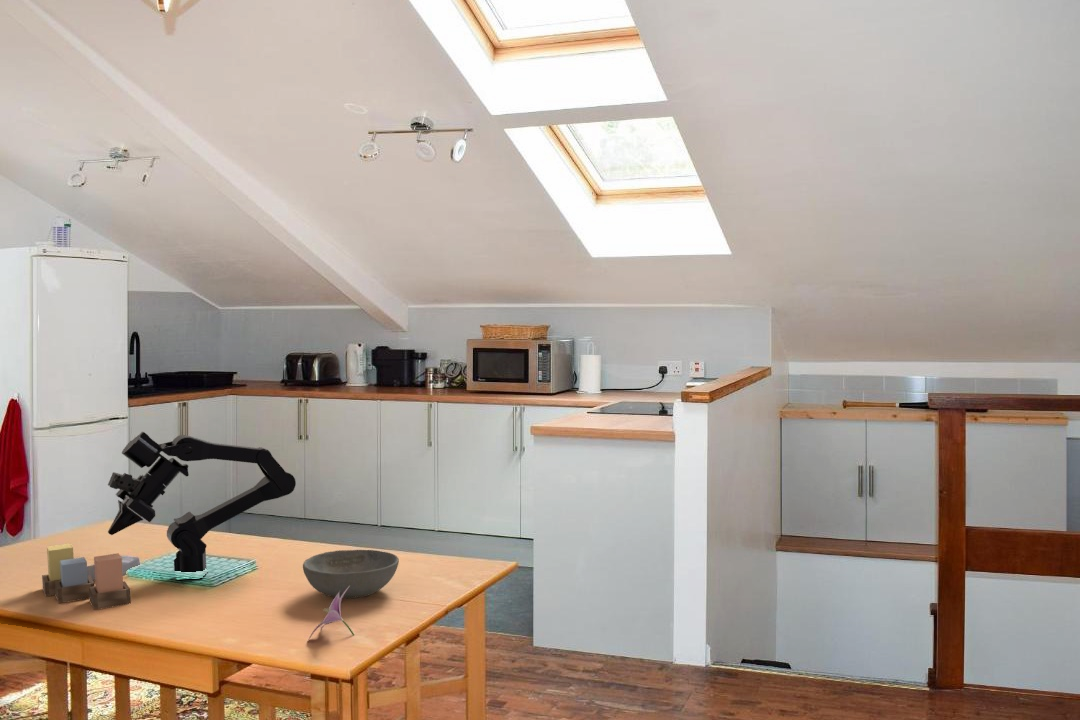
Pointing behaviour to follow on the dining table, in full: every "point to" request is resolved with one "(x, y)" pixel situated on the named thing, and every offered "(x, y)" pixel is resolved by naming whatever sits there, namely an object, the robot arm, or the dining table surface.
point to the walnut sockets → (86, 593)
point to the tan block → (108, 573)
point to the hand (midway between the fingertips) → (109, 533)
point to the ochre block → (57, 559)
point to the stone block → (126, 564)
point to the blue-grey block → (73, 572)
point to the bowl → (350, 572)
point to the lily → (333, 613)
